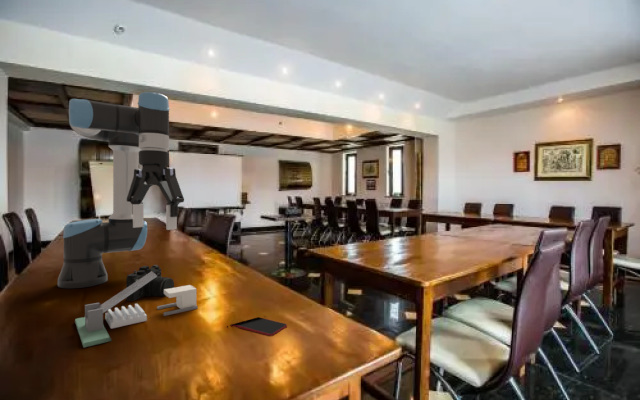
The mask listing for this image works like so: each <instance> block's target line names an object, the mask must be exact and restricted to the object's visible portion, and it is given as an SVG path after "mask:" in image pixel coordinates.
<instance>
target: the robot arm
mask: <svg viewBox="0 0 640 400" xmlns="http://www.w3.org/2000/svg"><path fill="white" fill-rule="evenodd" d="M68 102H69V103H68V104H69V105H68V122H69V126H70V128H71V129H72V131H73V132H74V133H76V134H78V135H80V136H82V137H84V138H87V139H89V140H94V141H100V142H108V148H110V149H111V150H112V152H113V153H112V154H113V156H112V158H113V159H112V161H113V162H112V163H113V165H112V166H113V167H112V173H113V174H112V179H113V180H112V182H113V183H112V185H113V187H112V188H113V189H112V190H113V193H112V195H113V197H112V199H113V200H112V202H113V203H112V208H113V209H112V212H113V213H112V214H110V215H109V216H108V222H106V221H105V222H103V220H102V218H93V219H92V218H89V219H83V220H78V221H73V222H69V223H67V224H65V225H64V228H63V236H62V239H63V265H62V267H61V270H60V273H59V275H58V278H57V287H58V288H61V289H81V288H89V287H94V286H95V287H96V286H99V285H102V284H104V283H106V282H108V280H109V279H108V273H107V269H106V268H105V264H104V262H103V254H106V253H107V254H108V253H109V254H110V253H119V252H132V251H139V250H141V249H143V247H144V246H145V244H146V240H147V237H148V222H147V221H146V220H144V202H143V200H144V199H145V197H146V195H147V193H148V191H149V189H150V188H151V187H153V186H157V187H158V188H159V190H160V191H161V193H162V194H163V196H164V198H165V200H166V201H167V203H166V209H165V213H166V216H165V217H166V218H165V222H166V223H165V225H166V226H165V228H166V229H165V230H167V231H169V230H170V231H171V230H177V229H178V224H177V223H178V217H179V214H178V213H179V204H181V203H184V202H185V198H184V196H183V195H184V194H183V192H182V190H181V187H180V183H179V182H178V178H177V175H176V168H174V167H168V166H169V165H170V153H169V150H170V109H171V108H170V101H169V98H168V96H166V95H164V94H162V93H158V92H155V91H154V92H152V91H144V92H141V93H139V94H138V101H137V105H138V106H137V107H134V106H127V105H122V104H115V103H114V104H113V103H108V102H101V101H100V102H99V101H93V100H89V99H85V98H82V99H80V98H79V99H78V98H71V99H69V101H68ZM139 165H140V166H141V167H142V168H141V169H140V168H139Z"/></svg>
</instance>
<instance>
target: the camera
mask: <svg viewBox="0 0 640 400" xmlns="http://www.w3.org/2000/svg"><path fill="white" fill-rule="evenodd" d="M151 271H152V272H153V273H155V274H156V275H157V277H156V278H154V279H153V280H151V281H150V282H148V283H147V284H145V285H144V286H142V287H141V288H140V289H138V290H137V291H135V292H134V293H132V294H131V295H129V296H128V297H126V298H125V300H126V302H134V301H137V300H139V299H141V298H143V297H152V296H153V297H161V298H162V297H167V296H166V295H165V294H164V289H170V288H175V281H174V279H173V278H171V277H164V276H162V268H160V266H159V265H158V264H153V265H152V266H149V265H142V266H140V267H139V269H138V271H137V270H133V272H132V273H129V274H127V275H126V279H125V280H126V283H125V284H126V285H125V286H126V288H127V287H129V286H130V285H132V284H133V283H135V282H136V281H138V280H139V279H141V278H142V277H144V276H145V275H147V274H148V273H150V272H151ZM126 288H125V289H126Z"/></svg>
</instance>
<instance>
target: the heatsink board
mask: <svg viewBox="0 0 640 400" xmlns="http://www.w3.org/2000/svg"><path fill="white" fill-rule="evenodd" d="M100 305H101V303H100V302H95V303H89V304H84V317H77V318H75V320H74V323H75V325H76V326H75V327H76V329H77V333H78V335H79V338H80V341H81V345H82V347H83V348H87V347H88V348H89V347H92V346H96V345H100V344H105V343H108V342H112V340H113V339H112V338H111V336H110V334H109V332H108V331H107V329H106V327H105V325H104V317H105V321H106V323H107V324H108V326H109V328H110V329H116V328H120V327H124V326H128V325H133V324H138V323H142V322H143V323H144V322H147V321H148V317H147V316H148V315H147V314H146V313H145V311H144V309H143V308H142V307H141V306H140V305H139V304H138V303H134V307H133V305H131V304H129V305H128V306H127V308H126V307H125V306H124V305H122V306H121V310H120V309H119V308H118V307H114V311H112V308H110V309H109V310H107V312H104V313H105V316H104V313H103V308H100V309H96V308H97V307H99V306H100ZM172 307H177V306H176V302H172V303H167V304H163V305H157V306H156V310H162V309H167V308H172ZM94 309H95V310H94ZM196 309H198V305H196V306H192V307H187V308H183V309H180V308H179V309H174V310H169V311H165V312H163V316H164V317H167V316H170V315H174V314H179V313H183V312H188V311H193V310H196Z"/></svg>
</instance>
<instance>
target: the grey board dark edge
mask: <svg viewBox="0 0 640 400" xmlns="http://www.w3.org/2000/svg"><path fill="white" fill-rule="evenodd" d="M156 277H157V275H156V274H155V273H153V272H152V271H151V272H150V273H148V274H147V275H145V276H144V277H142V278H141V279H139V280H138V281H136V282H135V283H133V284H132V285H130V286H129V287H127V288H124V289H123V290H121V291H120V292H118V293H117V294H115V295H114V296H112V297H110V298H109V299H108V300H106V301H105V302H103V303H101V304H100V306H99V307H97V308H96V309H100V308H103V314H104V313H107V312H108V310H109V309H112V308H113V307H114V306H116V305H118V304H119V303H120V302H121V301H123V300H126V297H128V296H129V295H131V294H132V293H134V292H135V291H137V290H138V289H140V288H141V287H142V286H144V285H145V284H147V283H148V282H150V281H151V280H153V279H154V278H156ZM94 310H95V309H94Z"/></svg>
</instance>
